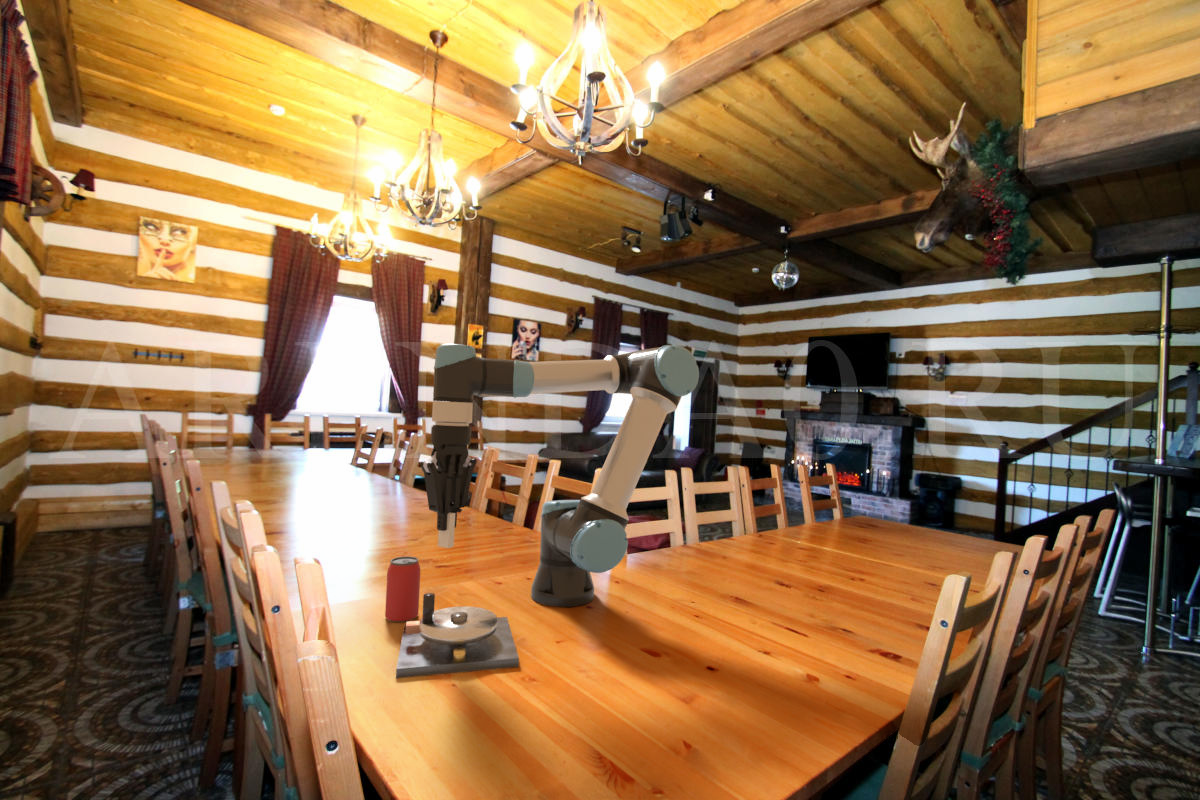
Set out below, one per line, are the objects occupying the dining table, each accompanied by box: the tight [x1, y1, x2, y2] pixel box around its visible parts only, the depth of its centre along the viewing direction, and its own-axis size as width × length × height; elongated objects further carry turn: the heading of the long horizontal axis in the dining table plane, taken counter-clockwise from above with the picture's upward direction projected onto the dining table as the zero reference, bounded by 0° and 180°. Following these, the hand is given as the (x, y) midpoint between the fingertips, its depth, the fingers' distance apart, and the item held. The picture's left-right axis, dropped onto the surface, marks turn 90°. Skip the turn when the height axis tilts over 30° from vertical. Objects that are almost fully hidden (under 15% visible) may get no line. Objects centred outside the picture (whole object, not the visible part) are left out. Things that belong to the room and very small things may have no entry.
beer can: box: [384, 556, 421, 623], centre depth 114 cm, size 7×7×12 cm
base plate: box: [395, 616, 520, 679], centre depth 100 cm, size 20×19×4 cm
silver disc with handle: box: [405, 592, 497, 645], centre depth 100 cm, size 16×14×6 cm
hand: (445, 546), depth 104 cm, fingers closed
